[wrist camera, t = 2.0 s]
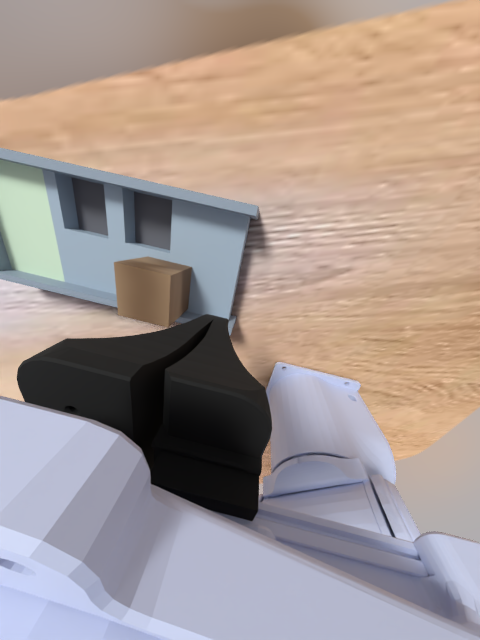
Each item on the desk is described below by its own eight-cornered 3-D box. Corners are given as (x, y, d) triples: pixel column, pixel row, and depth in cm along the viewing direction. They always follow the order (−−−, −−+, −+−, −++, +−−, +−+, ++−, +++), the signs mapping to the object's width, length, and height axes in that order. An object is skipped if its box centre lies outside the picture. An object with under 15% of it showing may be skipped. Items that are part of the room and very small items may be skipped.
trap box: (259, 211, 15) (258, 206, 12) (235, 321, 19) (230, 335, 17) (-8, 151, 16) (-65, 133, 13) (27, 270, 20) (-11, 276, 17)
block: (192, 266, 16) (170, 275, 12) (188, 308, 18) (168, 327, 14) (147, 256, 16) (113, 262, 12) (148, 299, 18) (118, 315, 14)
